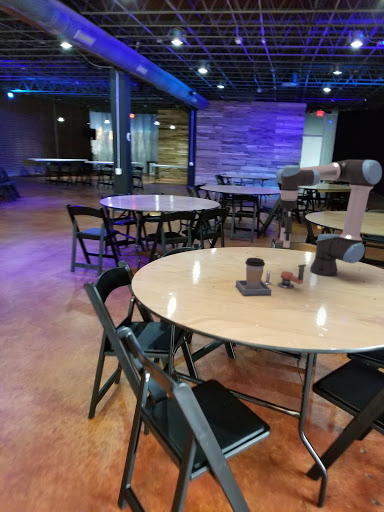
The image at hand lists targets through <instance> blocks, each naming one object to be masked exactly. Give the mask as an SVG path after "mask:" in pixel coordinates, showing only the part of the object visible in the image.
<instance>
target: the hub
mask: <svg viewBox="0 0 384 512" xmlns="http://www.w3.org/2000/svg"><path fill="white" fill-rule="evenodd" d="M291 282H292V281H291V280H286V279H282V278H281V282H278V283H277V286H278V287H279V288H282V289H293V288H294V287H295V284H293V283H291Z"/></svg>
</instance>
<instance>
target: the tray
mask: <svg viewBox="0 0 384 512" xmlns="http://www.w3.org/2000/svg"><path fill="white" fill-rule="evenodd" d="M264 282H265V281H264V280H262V279H261V282H260V286H259V289H247V279H246V280H245V279H242V280H241V279H240V280H239V279H238V280H237V279H236V280H235V287H236V288H237V290H238V291H239V292H240V294H241V295H242V296H243V297H256V296H257V297H260V296H261V297H262V296H263V297H265V296H266V297H267V296H272V291H273V290H272V288H271V287H269V286H268V285H266V284H265V283H264Z"/></svg>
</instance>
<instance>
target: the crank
mask: <svg viewBox="0 0 384 512" xmlns="http://www.w3.org/2000/svg"><path fill="white" fill-rule="evenodd" d="M306 266H307V264H304V263H303V264H300V265H299V264H298V267H297V268H298V276H295V275H294V273H293V272H292V271H287V270H286V271H285V270H284V271H281V273H280V274H281V275H280V278H281V280H282V279H286V280H291V282H294V283H296V284H298V285H303V284H304V276H305V275H304V274H305V267H306Z"/></svg>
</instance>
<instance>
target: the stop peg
mask: <svg viewBox="0 0 384 512" xmlns="http://www.w3.org/2000/svg"><path fill="white" fill-rule="evenodd" d="M270 278H271V271H270V270H267V271H266V273H265V281H263V282H264V283H265V284H266V285H267V286H268V285H269V286H270V285H271V284H272V282H271V281H270Z"/></svg>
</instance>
